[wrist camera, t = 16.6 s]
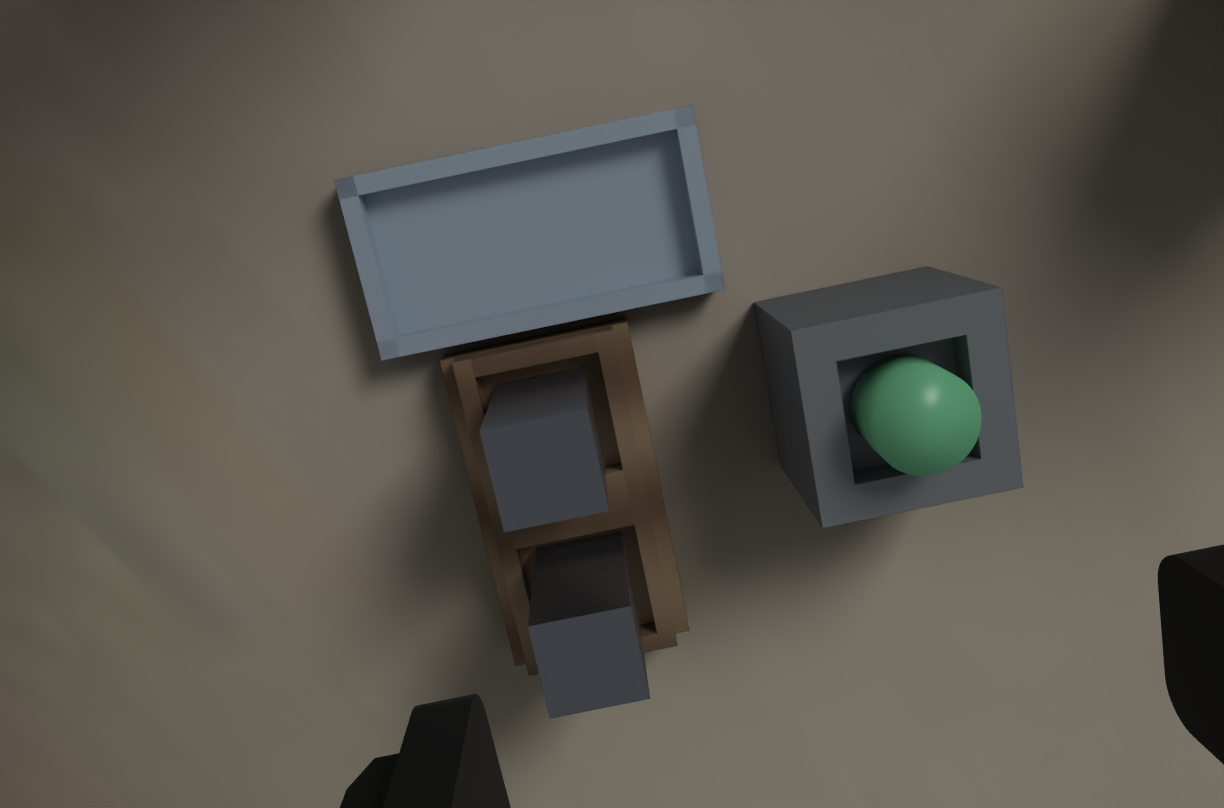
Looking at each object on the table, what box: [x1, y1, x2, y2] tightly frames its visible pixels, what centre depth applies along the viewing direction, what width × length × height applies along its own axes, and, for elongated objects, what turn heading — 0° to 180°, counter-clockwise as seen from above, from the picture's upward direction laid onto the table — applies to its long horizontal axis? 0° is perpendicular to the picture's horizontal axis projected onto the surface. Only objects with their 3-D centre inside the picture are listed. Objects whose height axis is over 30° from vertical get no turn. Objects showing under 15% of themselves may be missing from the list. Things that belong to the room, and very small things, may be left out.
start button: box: [850, 354, 982, 476], centre depth 38 cm, size 4×4×3 cm
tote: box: [334, 105, 725, 360], centre depth 43 cm, size 8×15×2 cm, turn 102°
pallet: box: [440, 318, 689, 675], centre depth 45 cm, size 15×8×3 cm, turn 12°
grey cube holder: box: [754, 267, 1023, 528], centre depth 42 cm, size 8×8×8 cm
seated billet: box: [480, 366, 609, 532], centre depth 40 cm, size 4×4×8 cm
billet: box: [528, 531, 650, 718], centre depth 42 cm, size 4×4×8 cm
